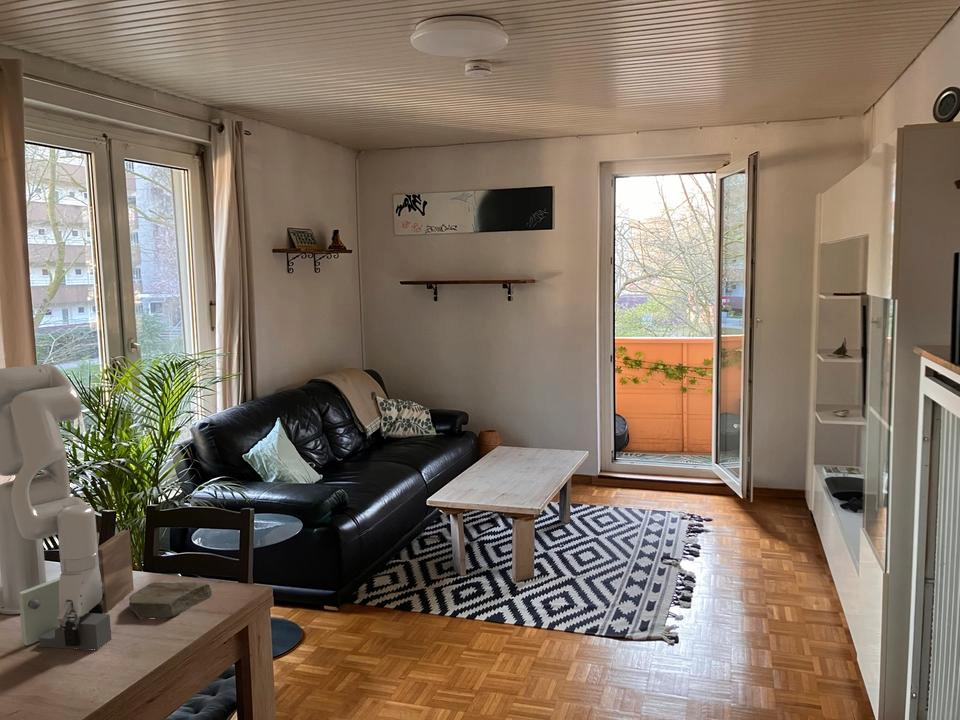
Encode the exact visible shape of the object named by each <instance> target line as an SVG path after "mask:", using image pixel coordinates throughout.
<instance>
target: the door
mask: <svg viewBox="0 0 960 720" xmlns="http://www.w3.org/2000/svg"><path fill="white" fill-rule="evenodd" d="M59 581H60V576H59V577H56V578H54V579H52V580H49V581H46V583H43V584H41V585H38V586H35V587H32V588H30V589H27V590H24V591H22V592H19V604H20V614H19V615H20V623H21V635H22V644H23V645H25V646H30V645H32V644H34V643H36V642H39V638H40V637H41V636H43V635H44V634H46V633H47V632H48V631H50V630H51V629H53V628H54V627H56V628H59V627H61V626H60V623H59V621H58V615H59V614H60V613H59ZM87 613H89V611H88V612H87ZM71 614H77V613H75V612H71ZM74 619H75V618H70V620H74Z"/></svg>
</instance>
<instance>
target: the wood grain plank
mask: <svg viewBox="0 0 960 720" xmlns="http://www.w3.org/2000/svg"><path fill="white" fill-rule="evenodd" d="M130 531H131V530H129V529H122V530H120V531H119V532H118V533H116V534H115V535H113V536H112V537H110V538H109V539H108V540H106V541H105V542H103V543H102V544H100V545H99V546H98V559H99V569H100V575H101V582H102V583H105V591H104V593H105V597H104V599H103V602H104V606H103V607H101V608H103V613H104V614H108V613H109V612H110V611H111V610H112V609H114V608H115V606H116V604H119V603H120V602H121V601H123V599H125V598H126V597H127V596H128V595H129V594H131V593H132V591H134V589H135V588H134V575H133V573H134V572H133V560H132V558H133V557H132V545H131V543H132V542H131V532H130ZM125 596H126V597H125ZM124 597H125V598H124ZM118 602H119V603H118ZM109 610H110V611H109ZM108 611H109V612H108Z"/></svg>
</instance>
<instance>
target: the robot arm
mask: <svg viewBox="0 0 960 720" xmlns="http://www.w3.org/2000/svg"><path fill="white" fill-rule="evenodd" d="M82 407H83V406H82V400H81V398H80V395H79V393H78V391H77V389H76V387H74V385H73V384H72V383H71V381H70V380H69V379H68V378H67V377H66V376H65V375H64V374H63V373H62V371H61V370H60V369H59V368H58V367H57V366H55V365H53V364H34V365H27V366H26V365H23V366H13V367H2V368H0V476H3V477H10V476H11V477H12V476H15V479H14V480H10V481H6V482H4V483H1V484H0V579H1V586H0V614H3V615H20V604H19V592H22V591H24V590H27V589H30V588H32V587H35V586H38V585H41V584H43V583H46V582H47V576H46V573H47V572H46V564H45V563H46V562H45V551H44V550H45V549H44V539H47V538H49V537H53V536H56V535H57V537H58V538H57V539H58V551H59V553H58V554H59V561H60V562H59V563H60V572H61V573H60V575H59V577H60V581H59V613H60V614H59V615H58V621H59V623H60V626H61V627H62V629H63V630H64V636H65V645H66V646H79V645H80V644H81V639H80V628H77V627H78V623H79V620H80V617H82V616H83V615H85V614H86V613H87V612H88V611H89V613H96V614H105V613H103V608H101V607H103V606H104V602H103V599H104V597H105V593H104V591H105V583H102V582H101V575H100V569H99V559H98V547H99V546H98V537H97V536H98V535H97V534H98V533H97V522H96V513H95V509H94V508H93V507H92V505H89V504H88V503H86V502H85V501H84V500H83V498H81V497H77V496H71V487H70V486H71V485H70V475H69V468H68V458H67V451H66V446H65V443H64V440H63V439H64V438H63V436H62V433H61V429H60V425H59V423H64V422H69V421H75V420H77V419H78V418H79V417H80V416H81V413H82V410H83V409H82ZM40 471H43V474H39V475H37V474H38V473H39V472H40ZM71 612H75V613H77V614H71ZM70 618H75V619H74V622H73V623H72V622H71V621H69V620H70Z"/></svg>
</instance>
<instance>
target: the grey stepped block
mask: <svg viewBox="0 0 960 720" xmlns="http://www.w3.org/2000/svg"><path fill="white" fill-rule="evenodd" d="M69 621H71V622H72V623H73V622H74V620H69ZM77 628H80V639H81V644H80V645H79V646H66V645H65V636H64V630H63V629H62V627H59V628H56V627H54V628H53V629H51V630H50V631H48V632H47V633H46V634H44V635H43V636H41V637H40V638H39V641H38V642H39V647H41V646H43V648H55V647H56V648H57V649H69V648H70V650H83V649H93V650H92V651H99V650H100V649H101V648H103V647H104V646H105V645H106V644H107V642H108V641H109V642H111V641H112V629H111V615H110V614H109V613H104V614H96V613H86V614H85V615H83V616H82V617H80V620H79V623H78V627H77ZM109 642H108V643H109ZM105 643H106V644H105ZM104 644H105V645H104ZM103 645H104V646H103ZM102 646H103V647H102ZM100 647H101V648H100ZM74 648H75V649H74ZM76 648H77V649H76ZM99 648H100V649H99ZM94 649H95V650H94ZM98 649H99V650H98Z"/></svg>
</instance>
